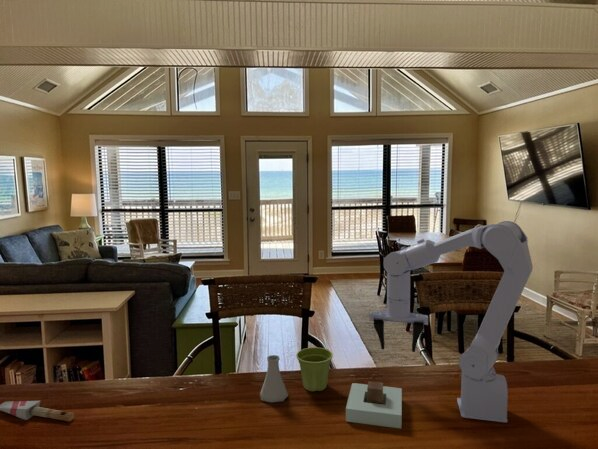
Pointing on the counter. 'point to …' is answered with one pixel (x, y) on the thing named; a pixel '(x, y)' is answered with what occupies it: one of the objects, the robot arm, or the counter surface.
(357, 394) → the socket block
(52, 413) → the grey and wooden tool
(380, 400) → the walnut peg
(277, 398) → the flask
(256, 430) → the counter surface
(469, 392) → the robot arm
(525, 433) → the counter surface
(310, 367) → the plant pot
